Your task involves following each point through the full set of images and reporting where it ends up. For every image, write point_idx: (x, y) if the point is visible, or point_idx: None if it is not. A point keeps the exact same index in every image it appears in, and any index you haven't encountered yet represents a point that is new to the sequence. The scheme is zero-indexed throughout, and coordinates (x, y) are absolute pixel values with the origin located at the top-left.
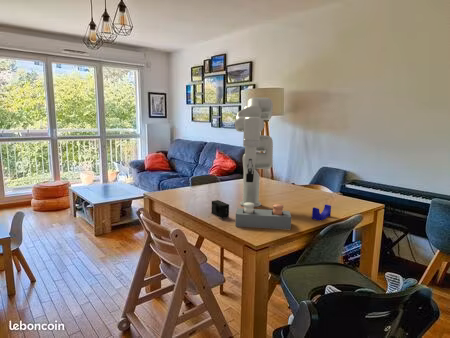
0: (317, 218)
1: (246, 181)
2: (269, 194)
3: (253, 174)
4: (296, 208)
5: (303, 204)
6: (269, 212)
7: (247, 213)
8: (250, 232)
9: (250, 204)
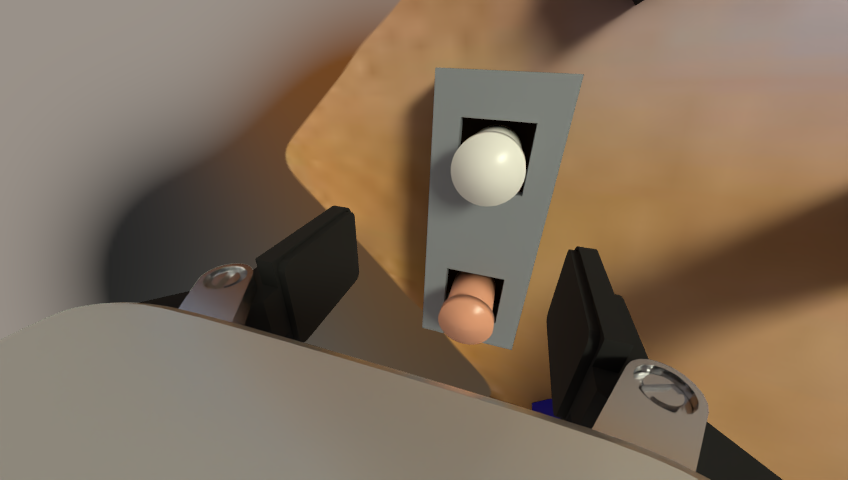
0: (538, 407)
1: (335, 209)
2: None
3: (554, 372)
4: (734, 408)
5: (807, 460)
6: (482, 265)
7: (455, 147)
8: (383, 145)
9: (469, 180)
